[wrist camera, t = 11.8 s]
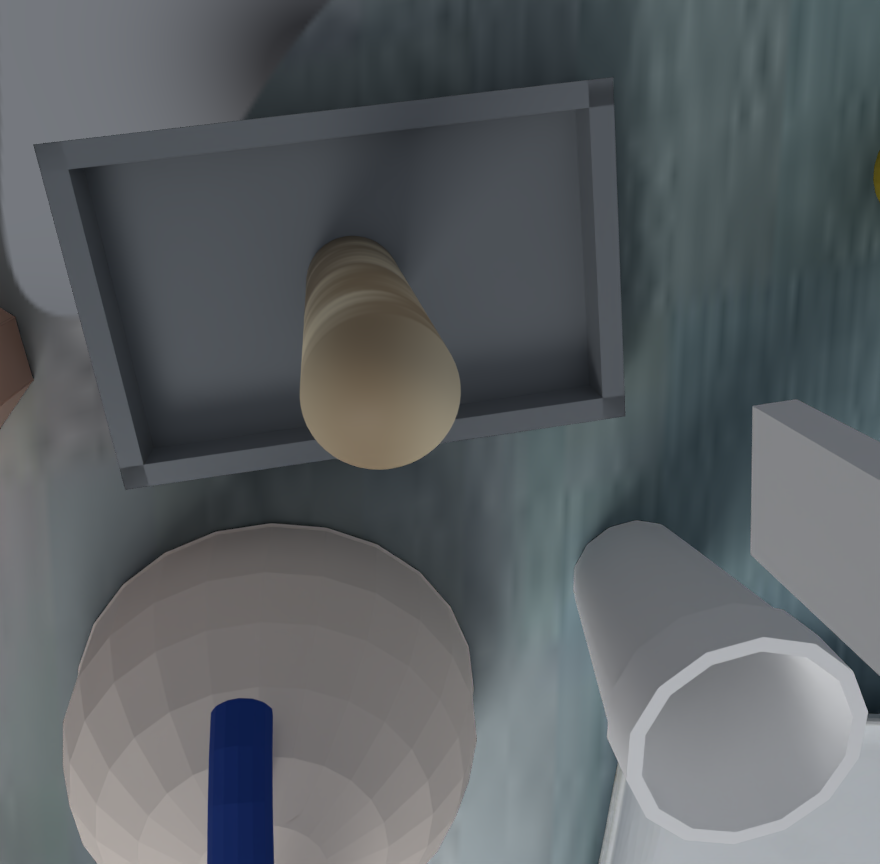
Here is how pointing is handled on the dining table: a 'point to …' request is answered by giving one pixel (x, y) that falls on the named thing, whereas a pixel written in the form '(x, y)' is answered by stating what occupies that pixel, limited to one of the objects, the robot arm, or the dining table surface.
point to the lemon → (877, 176)
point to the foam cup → (711, 690)
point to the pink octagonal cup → (11, 366)
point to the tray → (317, 223)
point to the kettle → (271, 707)
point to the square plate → (771, 856)
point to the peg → (372, 360)
